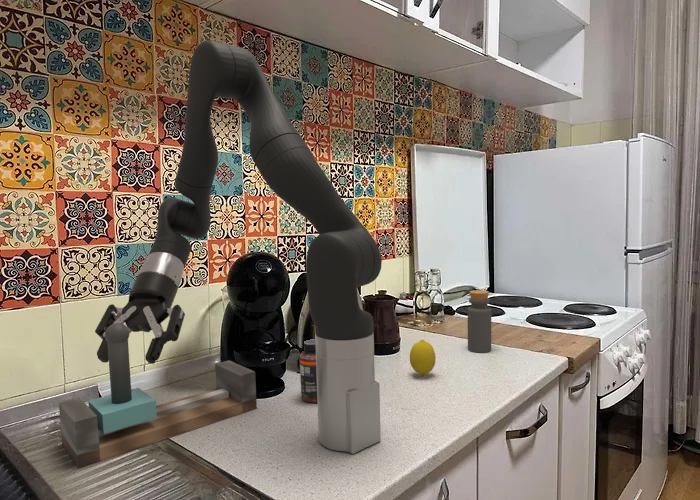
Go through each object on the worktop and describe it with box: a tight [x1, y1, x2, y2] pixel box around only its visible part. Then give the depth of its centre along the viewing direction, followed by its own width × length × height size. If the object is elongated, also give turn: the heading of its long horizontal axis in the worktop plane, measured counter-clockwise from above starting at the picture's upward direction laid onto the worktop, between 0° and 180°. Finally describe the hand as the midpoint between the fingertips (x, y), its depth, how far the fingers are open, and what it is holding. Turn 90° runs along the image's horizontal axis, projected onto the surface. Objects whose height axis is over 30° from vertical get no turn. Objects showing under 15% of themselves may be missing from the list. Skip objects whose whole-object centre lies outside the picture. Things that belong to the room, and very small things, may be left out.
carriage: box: [87, 323, 157, 434], centre depth 79 cm, size 8×8×16 cm
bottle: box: [467, 289, 492, 354], centre depth 124 cm, size 6×6×15 cm
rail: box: [58, 360, 258, 469], centre depth 85 cm, size 30×10×7 cm, turn 132°
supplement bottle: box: [299, 339, 317, 404], centre depth 95 cm, size 6×6×11 cm
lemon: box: [409, 339, 437, 377], centre depth 106 cm, size 6×6×8 cm
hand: (125, 361), depth 81 cm, fingers open, 8 cm apart
